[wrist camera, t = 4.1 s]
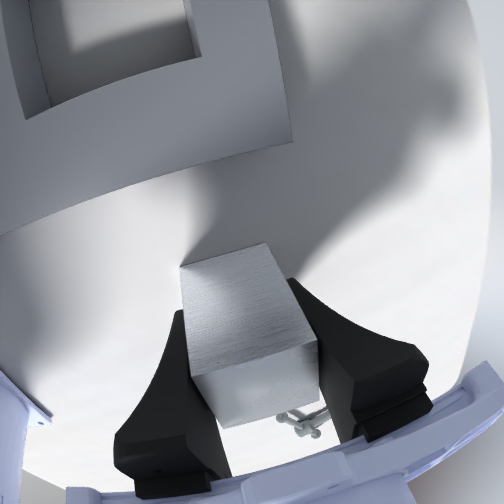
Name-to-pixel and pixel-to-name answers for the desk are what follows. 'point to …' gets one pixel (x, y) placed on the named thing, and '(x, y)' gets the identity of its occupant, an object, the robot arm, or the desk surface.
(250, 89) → the plate
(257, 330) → the square bit
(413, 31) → the desk surface
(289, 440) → the desk surface
